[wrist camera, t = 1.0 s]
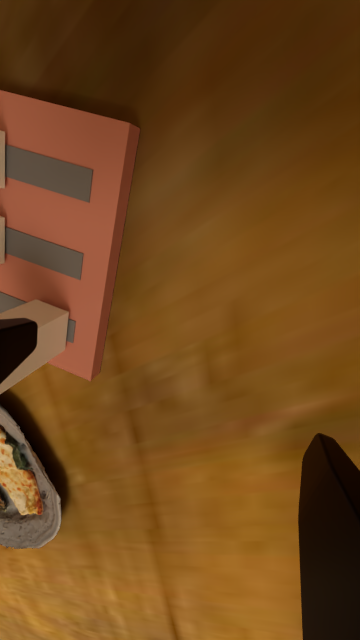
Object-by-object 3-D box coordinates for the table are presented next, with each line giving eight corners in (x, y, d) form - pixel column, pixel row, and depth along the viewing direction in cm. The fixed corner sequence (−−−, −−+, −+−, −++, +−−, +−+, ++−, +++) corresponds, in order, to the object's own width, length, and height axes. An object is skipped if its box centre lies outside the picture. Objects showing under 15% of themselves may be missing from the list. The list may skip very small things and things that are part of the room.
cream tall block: (68, 311, 23) (-45, 370, 15) (65, 349, 25) (-40, 421, 17) (36, 299, 24) (-91, 349, 16) (33, 337, 25) (-83, 400, 17)
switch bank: (140, 128, 19) (127, 121, 17) (99, 372, 27) (88, 383, 25) (-39, 82, 21) (-65, 72, 20) (-28, 318, 29) (-46, 325, 28)
